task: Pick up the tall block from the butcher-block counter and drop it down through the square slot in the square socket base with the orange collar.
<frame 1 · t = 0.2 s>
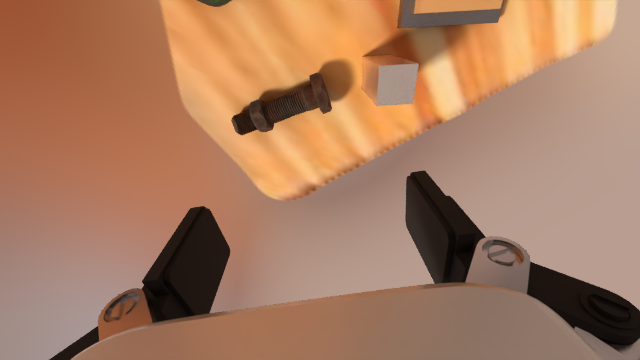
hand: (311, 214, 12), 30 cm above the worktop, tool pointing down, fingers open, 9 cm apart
block: (376, 71, 37), on the worktop
bolt: (281, 104, 39), on the worktop
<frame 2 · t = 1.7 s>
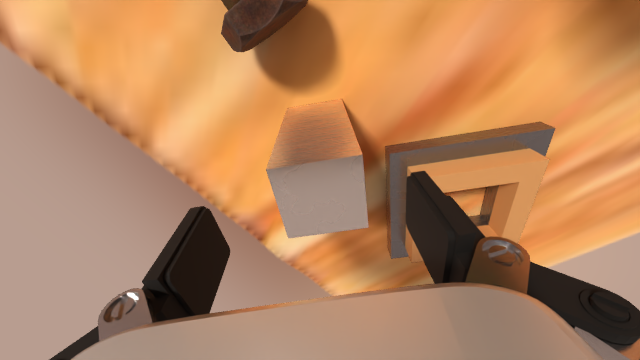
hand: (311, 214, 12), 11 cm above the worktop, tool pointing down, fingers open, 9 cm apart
square socket base: (452, 195, 24), on the worktop
block: (318, 129, 21), on the worktop
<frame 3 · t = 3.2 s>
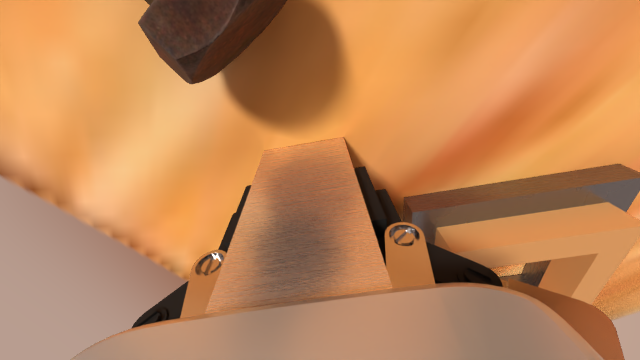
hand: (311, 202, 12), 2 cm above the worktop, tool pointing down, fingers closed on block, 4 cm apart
square socket base: (488, 252, 19), on the worktop
block: (310, 178, 15), on the worktop, touching gripper
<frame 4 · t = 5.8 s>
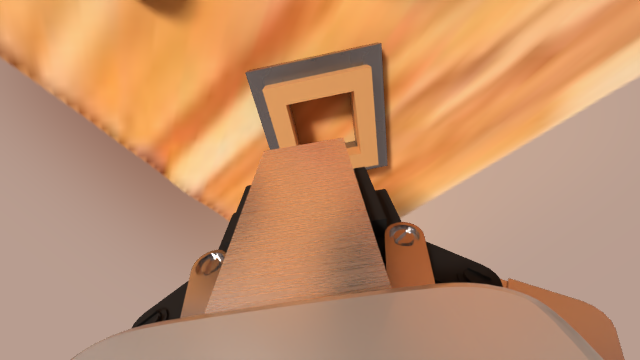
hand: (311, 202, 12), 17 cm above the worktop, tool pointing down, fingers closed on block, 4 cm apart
square socket base: (323, 120, 28), on the worktop
block: (310, 178, 15), point 15 cm above the worktop, touching gripper
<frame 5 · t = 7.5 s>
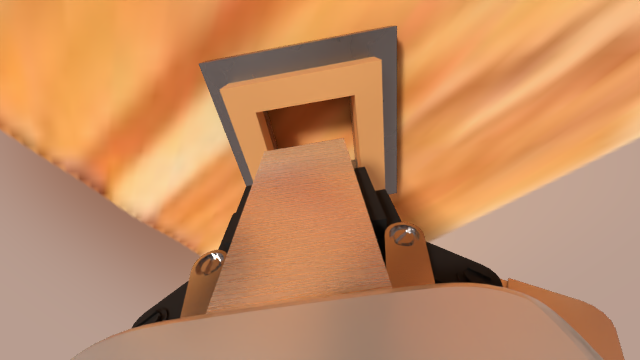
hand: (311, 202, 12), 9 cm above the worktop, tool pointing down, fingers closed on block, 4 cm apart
square socket base: (313, 131, 20), on the worktop
block: (310, 178, 15), point 7 cm above the worktop, touching gripper
when the fingers open (5 cm above the worktop, at t = 8.7 s): block drops 2 cm, resting in square socket base.
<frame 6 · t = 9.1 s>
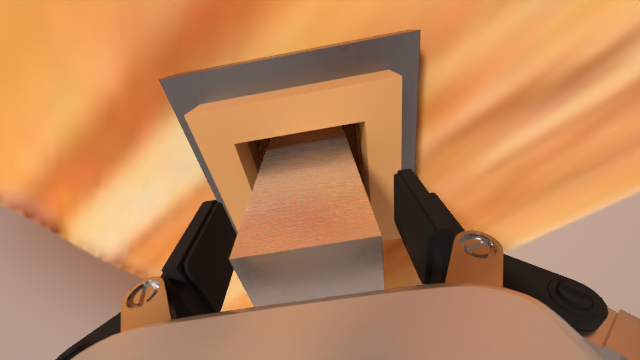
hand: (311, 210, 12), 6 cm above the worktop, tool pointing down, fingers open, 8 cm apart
square socket base: (310, 159, 17), on the worktop
block: (312, 158, 17), resting in square socket base
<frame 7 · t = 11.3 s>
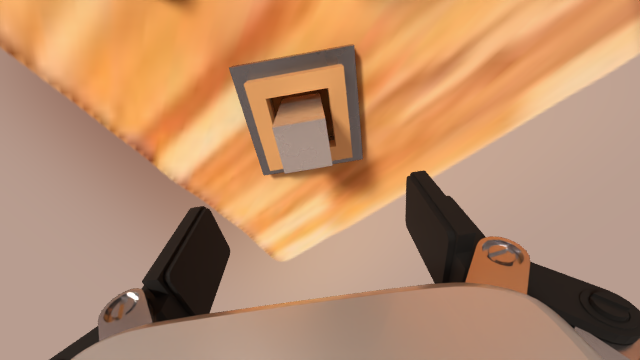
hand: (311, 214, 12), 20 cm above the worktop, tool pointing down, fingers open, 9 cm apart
square socket base: (303, 114, 30), on the worktop
block: (304, 114, 30), resting in square socket base
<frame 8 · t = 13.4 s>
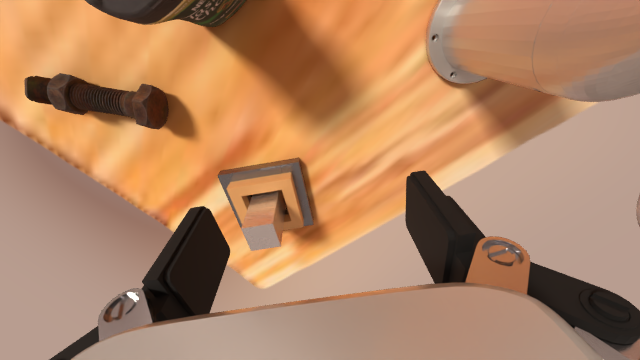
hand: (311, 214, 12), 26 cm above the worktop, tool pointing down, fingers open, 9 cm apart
square socket base: (270, 196, 43), on the worktop
block: (270, 196, 43), resting in square socket base
bolt: (110, 93, 34), on the worktop
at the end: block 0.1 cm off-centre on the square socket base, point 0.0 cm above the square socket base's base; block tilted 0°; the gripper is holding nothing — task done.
